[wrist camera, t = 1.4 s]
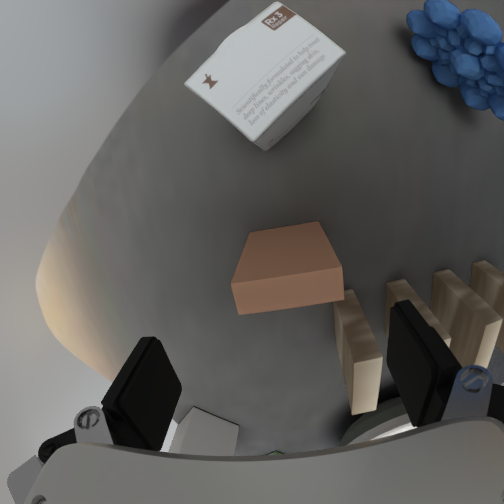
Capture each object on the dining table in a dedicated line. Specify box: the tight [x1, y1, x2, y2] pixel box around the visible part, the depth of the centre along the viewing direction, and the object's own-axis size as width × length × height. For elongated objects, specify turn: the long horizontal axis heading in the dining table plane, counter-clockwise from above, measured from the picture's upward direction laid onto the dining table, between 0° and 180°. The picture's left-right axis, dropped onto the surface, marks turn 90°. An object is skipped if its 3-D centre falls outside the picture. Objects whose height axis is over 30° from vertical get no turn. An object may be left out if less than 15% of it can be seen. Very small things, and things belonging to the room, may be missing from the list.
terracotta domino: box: [231, 221, 344, 315], centre depth 20 cm, size 2×6×10 cm, turn 102°
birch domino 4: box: [470, 260, 504, 354], centre depth 19 cm, size 2×6×10 cm, turn 11°
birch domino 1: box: [333, 289, 383, 415], centre depth 22 cm, size 2×6×10 cm, turn 12°
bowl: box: [338, 396, 417, 447], centre depth 28 cm, size 19×19×8 cm
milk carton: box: [168, 407, 239, 456], centre depth 26 cm, size 7×7×19 cm
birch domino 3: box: [430, 269, 503, 369], centre depth 20 cm, size 2×6×10 cm, turn 11°
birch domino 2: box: [385, 279, 451, 347], centre depth 21 cm, size 2×6×10 cm, turn 12°
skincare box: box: [185, 2, 346, 151], centre depth 15 cm, size 6×4×12 cm
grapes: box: [406, 0, 504, 121], centre depth 12 cm, size 12×7×12 cm, turn 46°
